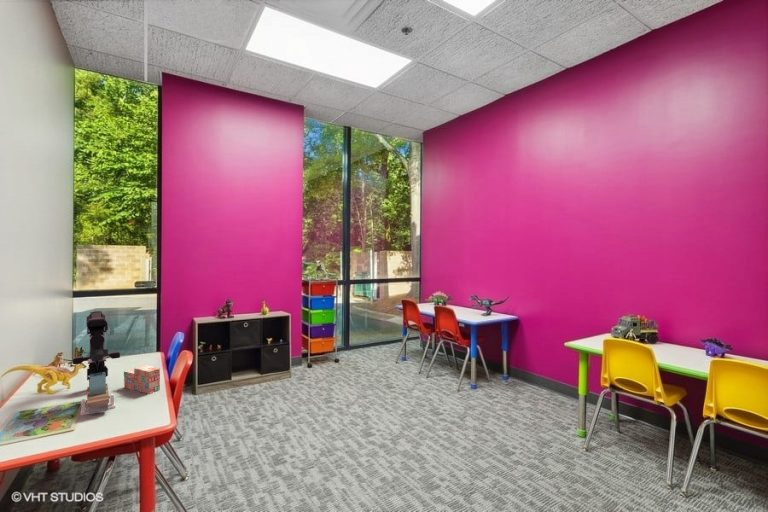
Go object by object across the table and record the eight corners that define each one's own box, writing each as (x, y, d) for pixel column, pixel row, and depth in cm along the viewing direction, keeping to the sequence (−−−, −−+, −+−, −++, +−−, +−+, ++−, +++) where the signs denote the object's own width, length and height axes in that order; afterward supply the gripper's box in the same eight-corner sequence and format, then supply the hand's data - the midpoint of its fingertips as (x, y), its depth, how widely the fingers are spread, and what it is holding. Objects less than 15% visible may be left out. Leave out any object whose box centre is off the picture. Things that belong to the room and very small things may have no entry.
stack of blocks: (123, 388, 203) (123, 365, 203) (135, 384, 209) (135, 362, 209) (148, 394, 195) (148, 371, 194) (160, 390, 200) (160, 367, 200)
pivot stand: (80, 411, 174) (80, 399, 173) (114, 404, 182) (114, 392, 182) (80, 415, 170) (80, 402, 170) (115, 407, 178) (115, 395, 178)
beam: (86, 397, 186) (86, 387, 185) (108, 393, 191) (108, 383, 191) (85, 414, 166) (85, 403, 166) (110, 409, 172) (110, 398, 172)
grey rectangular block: (89, 392, 178) (89, 374, 178) (105, 389, 182) (105, 371, 182) (89, 396, 174) (89, 377, 174) (105, 393, 178) (105, 374, 178)
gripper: (72, 349, 175) (72, 382, 175) (120, 343, 187) (120, 374, 187) (73, 345, 184) (73, 377, 184) (119, 339, 196) (119, 369, 195)
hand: (97, 374), depth 187 cm, fingers closed
